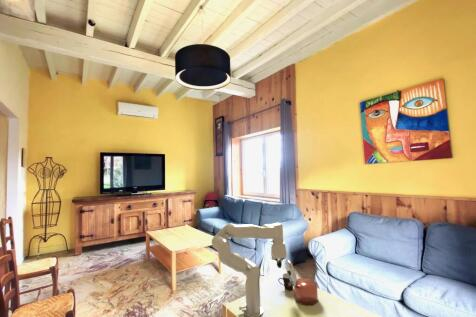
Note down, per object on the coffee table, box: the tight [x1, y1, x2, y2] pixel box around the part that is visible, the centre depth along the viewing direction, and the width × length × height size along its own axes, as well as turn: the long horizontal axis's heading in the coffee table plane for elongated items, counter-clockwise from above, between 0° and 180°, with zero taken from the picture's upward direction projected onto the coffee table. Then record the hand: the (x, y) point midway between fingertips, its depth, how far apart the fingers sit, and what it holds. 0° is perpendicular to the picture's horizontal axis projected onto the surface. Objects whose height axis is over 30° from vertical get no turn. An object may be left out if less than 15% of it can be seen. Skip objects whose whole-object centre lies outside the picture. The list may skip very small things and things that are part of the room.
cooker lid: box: [284, 259, 298, 287], centre depth 169 cm, size 17×17×3 cm
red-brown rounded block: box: [293, 277, 319, 306], centre depth 170 cm, size 16×16×11 cm
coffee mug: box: [278, 272, 294, 292], centre depth 186 cm, size 12×9×10 cm
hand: (279, 267), depth 168 cm, fingers closed
